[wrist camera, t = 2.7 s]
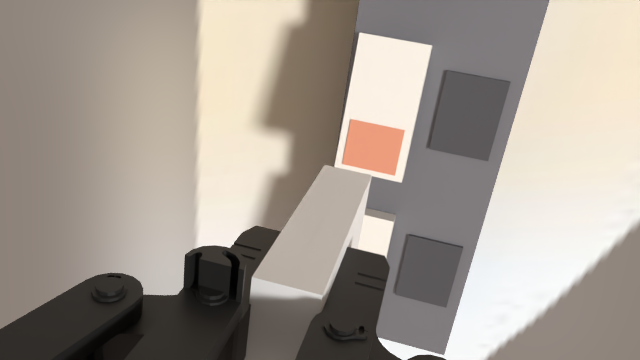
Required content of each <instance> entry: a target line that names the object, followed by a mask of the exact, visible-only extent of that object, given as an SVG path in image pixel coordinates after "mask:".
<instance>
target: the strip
mask: <svg viewBox="0 0 640 360" xmlns="http://www.w3.org/2000/svg"><path fill="white" fill-rule="evenodd" d="M548 3H549V0H359V7H358V13H357V20H356V26H355V33H354V39H353V46H352V52H351V59H350V66H349V72H348V79H347V85H346V92H345V98H344V105H343V111H342V118H341V125H340V131H339V138H338V144H337V150H338V145H339V139H340V134H341V129H342V123H343V118H344V113H345V107H346V102H347V97H348V92H349V86H350V81H351V76H352V70H353V65H354V60H355V54H356V49H357V44H358V38H359V33H366V34H371V35H377V36H382V37H388V38H393V39H399V40H405V41H410V42H416V43H421V44H427V45H432V50H431V55H430V59H429V64H428V68H427V73H426V78H425V82H424V87H423V91H422V96H421V100H420V105H419V109H418V114H417V118H416V123H415V127H414V132H413V136H412V141H411V145H410V150H409V154H408V159H407V163H406V168H405V173H404V177H403V180H402V183H400V182H396V181H391V180H387V179H383V178H378V177H374V176H372V177H371V182H370V187H369V193H368V198H367V203H366V208H369V209H373V210H378V211H382V212H386V213H391V214H395V215H396V217H395V222H394V226H393V231H392V235H391V240H390V244H389V249H388V253H387V258H386V260H387V262H388V264H389V267H390V270H389V275H388V279H387V284H386V288H385V293H384V297H383V302H382V306H381V311H380V315H379V319H378V324H377V328H376V334H377V337H379V338H383V339H387V340H390V341H394V342H398V343H401V344H405V345H409V346H412V347H416V348H420V349H424V350H427V351H431V352H435V353H438V354H442V355H444V353H445V350H446V346H447V343H448V340H449V336H450V333H451V329H452V326H453V323H454V319H455V316H456V313H457V309H458V306H459V303H460V299H461V296H462V292H463V289H464V286H465V282H466V279H467V276H468V272H469V269H470V266H471V262H472V259H473V256H474V252H475V249H476V245H477V242H478V239H479V235H480V232H481V229H482V225H483V222H484V219H485V215H486V212H487V208H488V205H489V202H490V198H491V195H492V192H493V188H494V185H495V182H496V178H497V175H498V171H499V168H500V165H501V161H502V158H503V155H504V151H505V148H506V145H507V141H508V138H509V134H510V131H511V128H512V124H513V121H514V118H515V114H516V111H517V108H518V104H519V101H520V97H521V94H522V91H523V87H524V84H525V81H526V77H527V74H528V71H529V67H530V64H531V61H532V57H533V54H534V50H535V47H536V44H537V40H538V37H539V34H540V30H541V27H542V24H543V20H544V17H545V13H546V10H547V7H548ZM336 155H337V151H336ZM335 161H336V157H335ZM334 166H335V164H334Z"/></svg>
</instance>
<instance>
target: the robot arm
mask: <svg viewBox="0 0 640 360" xmlns="http://www.w3.org/2000/svg"><path fill="white" fill-rule="evenodd" d="M371 177H372V175H369V174H364V173H360V172H355V171H350V170H346V169H341V168H337V167H332V166H328V165H324V166H323V168H322V170H321V171H320V173H319V174H318V176H317V177H316V179H315V180H314V182H313V183H312V185H311V186H310V188H309V190H308V191H307V193H306V194H305V196H304V197H303V199H302V200H301V202H300V203H299V205H298V207H297V208H296V210H295V211H294V213H293V214H292V216H291V217H290V219H289V220H288V222H287V223H286V225H285V227H284V228H283V230H282V231H281V232H280V231H276V230H272V229H267V228H263V227H259V226H255V227H253V228H251V229H249V230H247V231H245V232H243V233H241V235H240V236H239V237H238V239H237V240H236V241H235V242H234V245H232V246H231V248H227V247H222V246H202V247H199V248H196V249H193V250H191V251H190V252H188V253H187V254H186V255H185V265H184V266H185V267H184V287H183V289H182V290H181V291H180V292H179V294H178V295H167V296H163V295H143V288H142V285H141V283H140V282H139V281H138V280H137V279H136V278H134V277H132V276H129V275H126V274H122V273H107V274H102V275H97V276H94V277H92V278H90V279H87V280H85V281H84V282H82V283H80V284H78V285H76V286H75V287H73V288H71V289H69V290H68V291H66V292H64V293H63V294H61V295H59V296H57V297H56V298H54V299H52V300H50V301H49V302H47V303H45V304H43V305H42V306H40V307H38V308H36V309H35V310H33V311H31V312H29V313H28V314H26V315H24V316H23V317H21V318H19V319H17V320H16V321H14V322H12V323H10V324H8V325H7V326H5V327H3V328H2V329H0V360H401V359H400V358H398V357H396V356H395V355H393V354H392V353H390V352H389V351H388V350H387V349H386V348H385V347H383V346H382V344H381V343H380V341H379V340H378V337H377V334H376V328H377V324H378V319H379V315H380V311H381V306H382V302H383V297H384V293H385V288H386V284H387V279H388V275H389V270H390V267H389V264H388V262H387V260H386V258H385V256H384V255H380V254H376V253H372V252H368V251H364V250H359V249H358V245H359V240H360V234H361V229H362V224H363V219H364V214H365V208H366V203H367V198H368V193H369V187H370V182H371ZM408 360H446V359H444V358H441V357H437V356H433V355H417V356H414V357H412V358H410V359H408Z"/></svg>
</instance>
